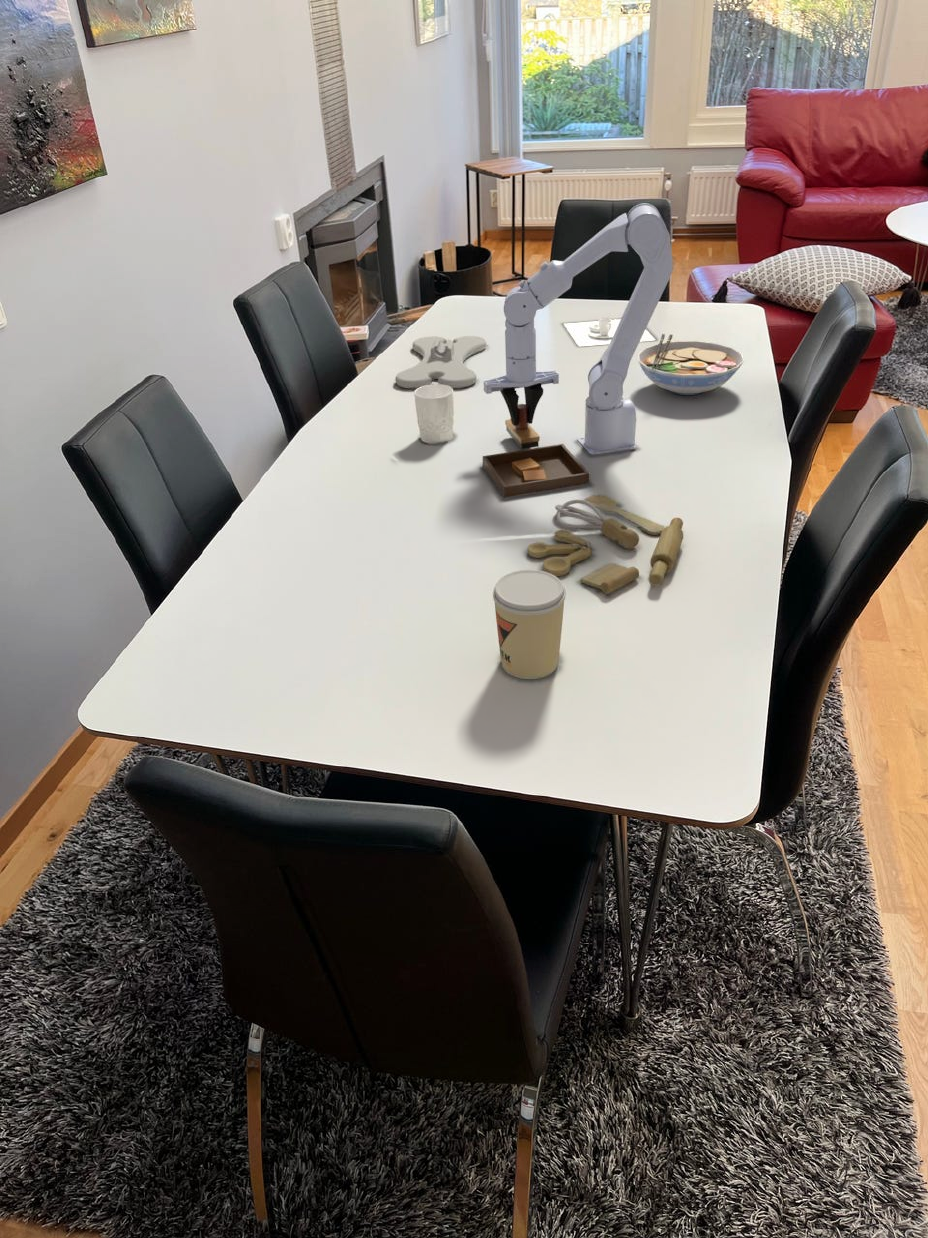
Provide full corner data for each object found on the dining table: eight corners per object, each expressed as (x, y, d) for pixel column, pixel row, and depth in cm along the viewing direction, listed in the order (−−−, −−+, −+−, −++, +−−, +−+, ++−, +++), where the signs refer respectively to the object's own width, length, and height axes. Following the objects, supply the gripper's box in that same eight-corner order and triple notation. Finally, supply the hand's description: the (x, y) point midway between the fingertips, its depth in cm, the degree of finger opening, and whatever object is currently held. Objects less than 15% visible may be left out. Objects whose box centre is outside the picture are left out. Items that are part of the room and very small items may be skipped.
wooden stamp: (523, 427, 187) (522, 395, 183) (539, 446, 179) (539, 413, 175) (505, 430, 186) (504, 398, 183) (521, 449, 178) (520, 416, 174)
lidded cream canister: (491, 645, 128) (488, 571, 121) (558, 639, 128) (559, 565, 122) (499, 686, 120) (496, 610, 114) (570, 680, 121) (571, 603, 114)
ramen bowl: (734, 414, 192) (739, 375, 188) (625, 405, 199) (627, 368, 194) (744, 373, 211) (749, 338, 207) (645, 367, 218) (647, 333, 214)
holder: (487, 342, 240) (487, 323, 237) (474, 388, 212) (473, 367, 209) (415, 343, 242) (414, 324, 239) (393, 389, 214) (391, 368, 211)
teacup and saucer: (585, 330, 244) (585, 315, 241) (614, 328, 244) (615, 312, 242) (592, 340, 236) (592, 324, 234) (622, 338, 237) (623, 322, 235)
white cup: (451, 446, 185) (448, 398, 180) (413, 444, 187) (409, 397, 181) (459, 431, 192) (456, 384, 186) (422, 429, 193) (419, 383, 188)
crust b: (543, 475, 171) (543, 469, 170) (546, 484, 168) (546, 478, 167) (522, 476, 171) (522, 470, 170) (524, 485, 168) (524, 480, 167)
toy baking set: (528, 497, 165) (528, 479, 163) (672, 496, 163) (674, 477, 161) (526, 596, 138) (526, 576, 136) (699, 596, 136) (701, 575, 134)
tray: (562, 455, 179) (562, 443, 178) (589, 485, 168) (589, 473, 166) (482, 468, 176) (482, 455, 175) (504, 499, 165) (504, 487, 163)
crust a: (530, 463, 176) (530, 457, 175) (540, 471, 173) (540, 465, 172) (511, 467, 174) (511, 462, 174) (521, 475, 171) (521, 469, 171)
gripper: (550, 343, 178) (550, 410, 185) (478, 353, 175) (481, 420, 183) (562, 354, 172) (562, 423, 180) (488, 364, 169) (490, 434, 177)
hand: (522, 422), depth 181 cm, fingers closed on wooden stamp, 2 cm apart
